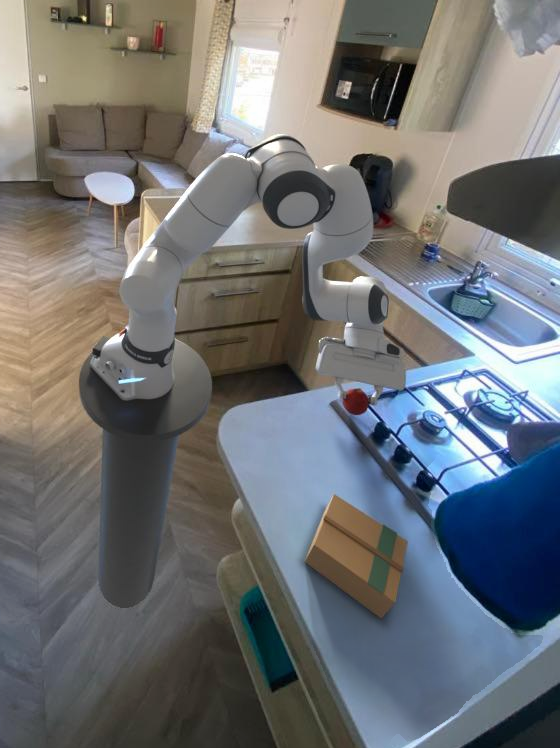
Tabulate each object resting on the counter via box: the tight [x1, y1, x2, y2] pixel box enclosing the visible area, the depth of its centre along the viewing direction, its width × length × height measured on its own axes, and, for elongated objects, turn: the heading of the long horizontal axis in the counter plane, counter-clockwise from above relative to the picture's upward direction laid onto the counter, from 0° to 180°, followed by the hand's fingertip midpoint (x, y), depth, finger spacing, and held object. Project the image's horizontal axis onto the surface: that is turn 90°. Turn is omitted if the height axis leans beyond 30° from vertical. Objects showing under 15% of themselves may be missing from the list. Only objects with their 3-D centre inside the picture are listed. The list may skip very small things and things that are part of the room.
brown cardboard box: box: [304, 493, 408, 619], centre depth 73 cm, size 13×11×6 cm
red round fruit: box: [341, 387, 370, 416], centre depth 100 cm, size 6×6×8 cm
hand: (356, 401), depth 100 cm, fingers closed on red round fruit, 5 cm apart
